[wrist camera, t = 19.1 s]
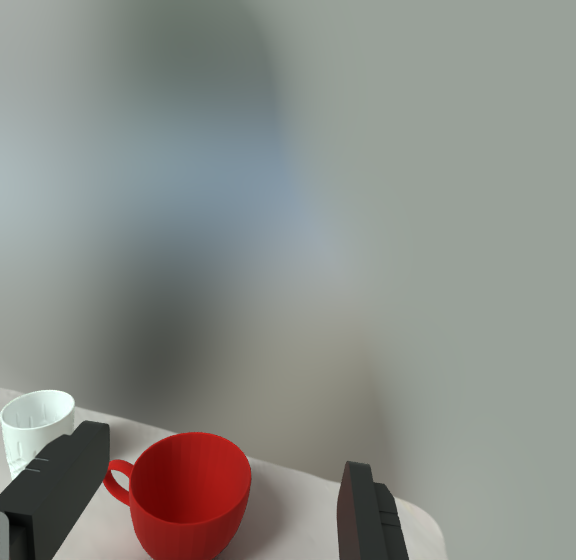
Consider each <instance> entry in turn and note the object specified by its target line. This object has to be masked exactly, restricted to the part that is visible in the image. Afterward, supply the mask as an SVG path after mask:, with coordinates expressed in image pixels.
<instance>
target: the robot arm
mask: <svg viewBox="0 0 576 560" xmlns="http://www.w3.org/2000/svg"><path fill="white" fill-rule="evenodd" d="M109 447H110V429H109V425H108V424H105V423H99V422H93V421H83V422H82V423H81V424H80V425H79V426H78V427H77V428H76V430H75V431H74V432H73V433H72V434H71V435H67V434H63V435H61V436H59V437H58V438H56V439H54V440H53V441H51V442H49V443H48V444H46V446H45V447H44V448H43V449H42V450H41V451H40V452H39V453H38V454H37V455H36V456H35V459H32V461H31V462H30V463H29V464H28V465H27V466H26V467H25V470H22V471H21V472H20V473H19V474H18V476H17V477H16V478H15V479H14V480H13V481H12V482H11V483H10V484H9V485H8V486H7V487H6V488H5V489H4V491H3V492H2V493H1V494H0V560H52V558H53V557H54V555H55V554H56V552H57V551H58V549H59V548H60V546H61V545H62V543H63V542H64V540H65V539H66V537H67V535H68V534H69V532H70V531H71V529H72V528H73V526H74V525H75V523H76V522H77V520H78V519H79V517H80V515H81V514H82V512H83V511H84V509H85V508H86V506H87V505H88V503H89V502H90V500H91V499H92V497H93V496H94V494H95V492H96V491H97V489H98V488H99V486H100V485H101V483H102V482H103V480H104V478H105V476H106V473H107V470H108V466H109ZM337 529H338V544H339V558H340V560H409V557H408V553H407V549H406V545H405V541H404V537H403V533H402V529H401V524H400V520H399V517H398V512H397V508H396V504H395V500H394V497H393V496H392V494H391V493H390V491H389V490H388V488H387V487H386V486H385V484H381V483H375V482H373V478H372V473H371V468H370V465H369V464H364V463H358V462H351V461H347V462H346V464H345V469H344V473H343V477H342V482H341V486H340V491H339V495H338V501H337Z"/></svg>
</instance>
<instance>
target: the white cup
mask: <svg viewBox="0 0 576 560" xmlns="http://www.w3.org/2000/svg"><path fill="white" fill-rule="evenodd" d="M74 412H75V401H74V399H73V397H72V396H71V395H69V394H68V393H66V392H63V391H58V390H42V391H36V392H31V393H28V394H25V395H22V396H20V397H18V398H16V399H14V400H12V401H11V402H9V403H8V404H7V405H6V406H5V407H4V408H3V409H2V411H1V413H0V422H1V428H2V434H3V440H4V447H5V451H6V457H7V461H8V465H9V467H10V471H11V477H12V481H13V480H14V479H15V478H16V477H17V476H18V474H19V473H20V472H21V471H22V470H25V467H26V466H27V465H28V464H29V463H30V462H31V461H32V459H35V456H36V455H37V454H38V453H39V452H40V451H41V450H42V449H43V448H44V447H45V446H46V444H48V443H49V442H51V441H53V440H54V439H56V438H58V437H59V436H61V435H63V434H67V435H71V434H72V433H73V432H74Z"/></svg>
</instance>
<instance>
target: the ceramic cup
mask: <svg viewBox="0 0 576 560" xmlns="http://www.w3.org/2000/svg"><path fill="white" fill-rule="evenodd" d="M111 470H117V471H120V472H122V473H124V474H125V475H126V476H127V477H128V478H129V492H128V491H127V490H125V489H124V488H122V487H121V486H120V485H119V484H118V483H117V482H116V480H115V479H114V477H113V476H112V473H111ZM103 483H104V485H105V487H106V489H107V490H108V491H109V492H110V493H111V494H112V495H113V496H114V497H115V498H116V499H118V500H119V501H121V502H122V503H124V504H126V505H128V506H130V512H131V517H132V522H133V526H134V530H135V533H136V536H137V538H138V540H139V541H140V543H141V545H142V547H143V548H144V550H145V551H146V552H147V553H148V554H149V555H150V556H151V557H152V558H153V559H154V560H211V559H213V558H214V557H216V556H217V555H218V554H219V553H220V552H221V551H222V550H223V549H224V548H225V547H226V546H227V545H228V543H229V542H230V541H231V539H232V538H233V536H234V535H235V533H236V531H237V529H238V527H239V525H240V522H241V520H242V518H243V515H244V512H245V509H246V505H247V501H248V497H249V491H250V486H251V468H250V465H249V462H248V459H247V458H246V456H245V454H244V453H243V452H242V451H241V450H240V449H239V448H238V447H237V446H236V445H235V444H233V443H232V442H230V441H229V440H227V439H225V438H222V437H220V436H217V435H214V434H209V433H202V432H189V433H181V434H177V435H173V436H170V437H167V438H165V439H162V440H160V441H158V442H157V443H155V444H153V445H152V446H150V447H149V448H148V449H147V450H145V451H144V452H143V453H142V454H141V456H140V457H139V458H138V459H137V461H136V462H135V464H134V465H132V464H130V463H129V462H126V461H124V460H112V461H110V462H109V466H108V470H107V473H106V476H105V478H104V480H103Z"/></svg>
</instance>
